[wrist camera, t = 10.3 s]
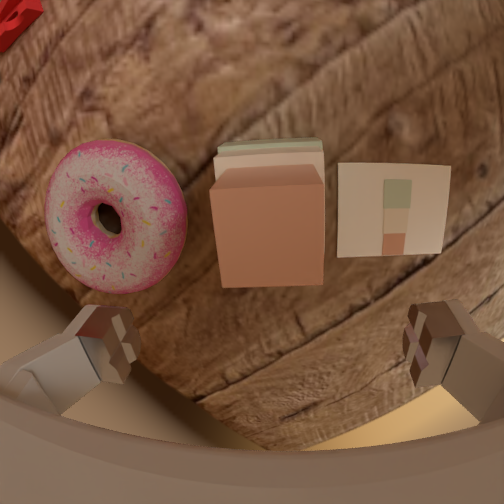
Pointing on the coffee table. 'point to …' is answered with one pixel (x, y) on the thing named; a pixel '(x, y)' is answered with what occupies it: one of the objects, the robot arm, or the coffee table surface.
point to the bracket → (16, 19)
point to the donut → (128, 208)
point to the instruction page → (391, 208)
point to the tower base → (271, 155)
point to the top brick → (269, 226)
